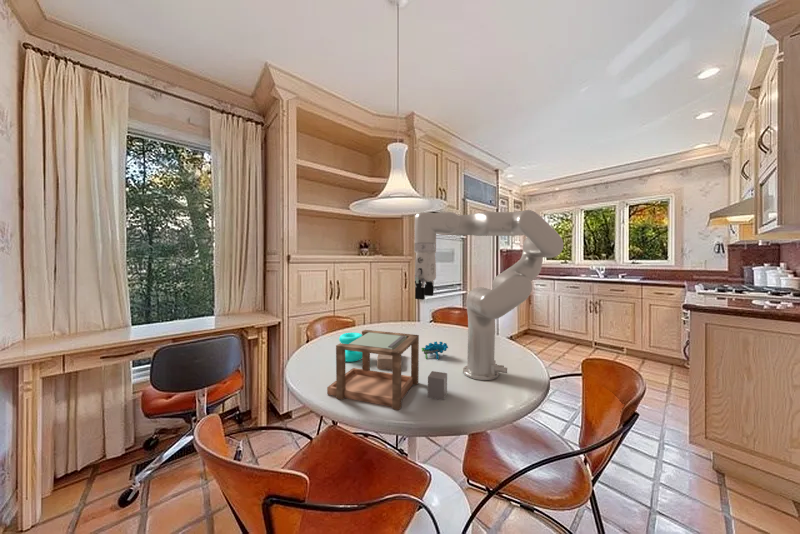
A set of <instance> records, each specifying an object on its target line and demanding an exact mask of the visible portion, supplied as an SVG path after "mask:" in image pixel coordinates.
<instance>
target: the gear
mask: <svg viewBox="0 0 800 534" xmlns="http://www.w3.org/2000/svg"><path fill="white" fill-rule="evenodd" d="M447 344H448V343H447V342H443V341H439V343H438V342H437V341H434V342H433V343H432V342H430V343H428V344H425V347H421V352H423V354H424V356H425V359H426V360H428V355H433V354H434V355H435V357H436V360H439V359H440V356H439V354H443V353H444V352H447V349H449V346H448V345H447Z"/></svg>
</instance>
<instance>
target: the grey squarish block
mask: <svg viewBox="0 0 800 534" xmlns="http://www.w3.org/2000/svg"><path fill="white" fill-rule="evenodd" d="M447 394H448V373H447V372H440V371H434V370H432V371H431V372H430V373H429V375H428V377H427V398H429V399H435V400H441V401H445V400H446V399H445V398H446V397H447Z"/></svg>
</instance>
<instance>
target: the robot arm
mask: <svg viewBox="0 0 800 534" xmlns="http://www.w3.org/2000/svg"><path fill="white" fill-rule="evenodd" d="M437 235H441V236H474V237H475V236H476V237H484V236H485V237H487V236H488V237H489V236H490V237H495V236H496V237H500V236H501V237H502V236H503V237H517V236H518V237H519V236H525V237H526V238H525V239H524V241H523V243H522V253H521V257H520V259H519V260H518V261H516V262H515V263H514V264H512V265H511V266H510V267H508V268H507V269H505V270H503V271H502V272H501V273H499V274H497V275H496V276H495V278H494V279H493V280H492V284H491V286H492V287H491V289H490V288H487V287H482V286H478V287H475V288H473V289H471V290H470V291H469V293H468V294H467V297H466V313H467V362H466V363H467V365H466V366H464V367H463V368H462V373H463V374H464V375H465V376H466V377H468V378H470V379H474V380H478V381H492V380H496V379H498V377H499V373H503V374H508V367H505V365H504V364H503V365H502V364H501V365H500V364H498V363H496V360H495V350H496V348H495V346H496V345H495V343H496V342H495V341H496V339H495V338H496V323H495V322H496V321H495V320H497V319H499V318H501V317H503V316H505V315H506V314H508V313H509V312H511V311H512V310H514V309H516V308H517V307H518V306H519V305H521V304H522V303H524V302H525V301H526V300H528V299H529V297H530V295H531V294H532V291H533V283H532V281H534V280H535V279H536V278H538V276H539V274H540V273H541V272H542V266H543V262H544V260H543V259H545V258H549V259H550V258H551V259H552V258H556V257H558V256H559V255H561V253H562V251H563V250H564V240H563V237H561V235H560V234H559V233H558V232H557V231H556V230H555V229H554V228H553V227H552V226H551V225H550V224H549V222H547V221H546V220H545V219H544V218H543V217H542V216H541V215H539V214H538V213H537V212H535V211H533V210H531V209H524V210H521V211H481V212H475V213H471V214H460V215H459V214H456V213H455V212H452V211H445V212H435V213H433V212H427V211H425V212H418V213H416V214H415V215H414V247H413V248H414V251H413V252H414V253H415V262H414V287H415V288H414V290H415V292H414V294H415V295H414V298H415V300H422V301H423V300H425V296H430V297H433V296H434V284H435V282H434V281H435V280H436V279H437V265H436V263H437V262H436V261H437V260H436V253H437Z"/></svg>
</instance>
